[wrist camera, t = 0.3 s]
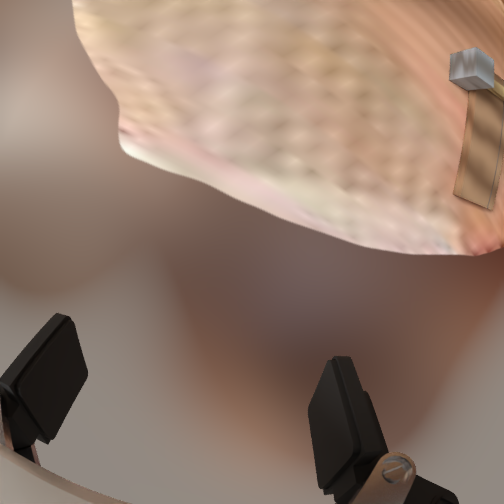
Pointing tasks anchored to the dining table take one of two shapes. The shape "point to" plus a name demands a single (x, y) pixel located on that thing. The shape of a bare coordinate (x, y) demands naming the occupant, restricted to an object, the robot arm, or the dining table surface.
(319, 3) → the dining table surface
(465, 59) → the wooden handled gray mallet
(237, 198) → the dining table surface
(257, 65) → the dining table surface
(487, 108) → the board
